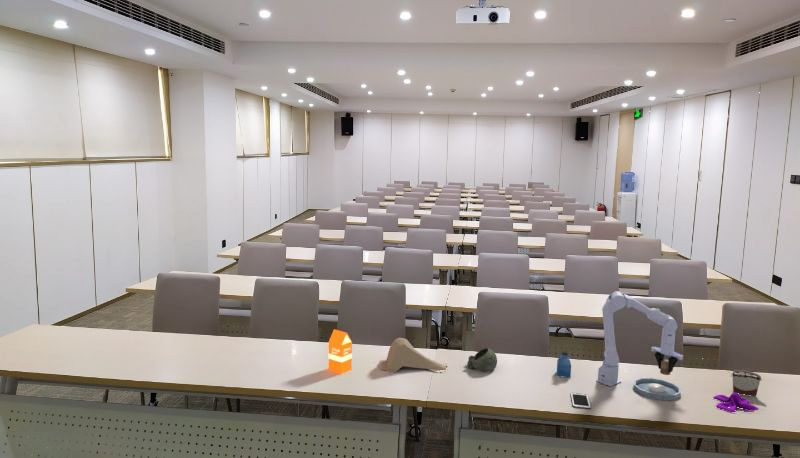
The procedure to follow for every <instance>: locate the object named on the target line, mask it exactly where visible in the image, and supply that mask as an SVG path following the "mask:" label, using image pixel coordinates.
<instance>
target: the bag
mask: <svg viewBox="0 0 800 458" xmlns="http://www.w3.org/2000/svg"><path fill="white" fill-rule="evenodd" d="M440 363H441V362H437V361H435V360H433V359H431V358H429V357H426V356H425V355H424V354H422V353H421V352H419V351H418V350H417V349H415V347H414V346H413V345H412V344H411V343H410V341H409V340H408V339H407V338H403V337H397V338H396V339H394V340H393V342H392V343H391V345H390V347H389V349H388V353H387V356H386V360H385V359H383V360H380V361H379V365H380V369H381V371H386V372H387V373H396V372H397V371H399V370H400V369H401V368H403V367H408V368H415V369H427V370H429V371H432V372H434V373H436V372H435V371H438V370H439V371H440V370H446V368H447V367H446V366H447V365H446V366H444V365H442V364H440Z"/></svg>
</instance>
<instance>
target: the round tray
mask: <svg viewBox="0 0 800 458" xmlns="http://www.w3.org/2000/svg"><path fill="white" fill-rule="evenodd" d="M633 390H634V391H635V392H636V393H638V395H642V396H645V397H647V398H649V399H655V400H660V401H674V400H678V399H680V398H681V395H682V391H681V388H680V387H679V386H678V385H677V384H675V383H673V382H670V381H667V380H664V379H660V378H653V377H639V378H637V379H634V380H633Z"/></svg>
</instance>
